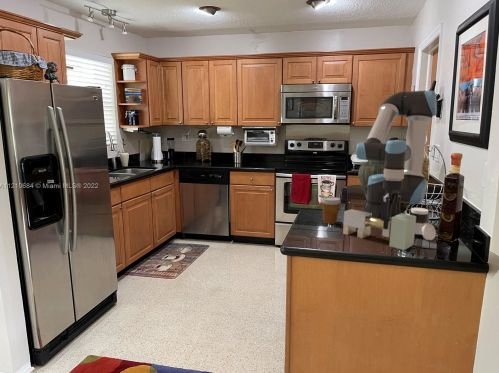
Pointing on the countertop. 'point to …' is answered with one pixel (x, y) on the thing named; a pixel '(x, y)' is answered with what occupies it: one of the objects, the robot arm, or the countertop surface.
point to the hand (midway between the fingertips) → (388, 234)
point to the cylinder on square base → (375, 222)
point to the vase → (369, 172)
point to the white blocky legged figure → (356, 223)
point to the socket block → (402, 231)
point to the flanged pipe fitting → (423, 224)
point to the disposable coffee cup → (330, 209)
